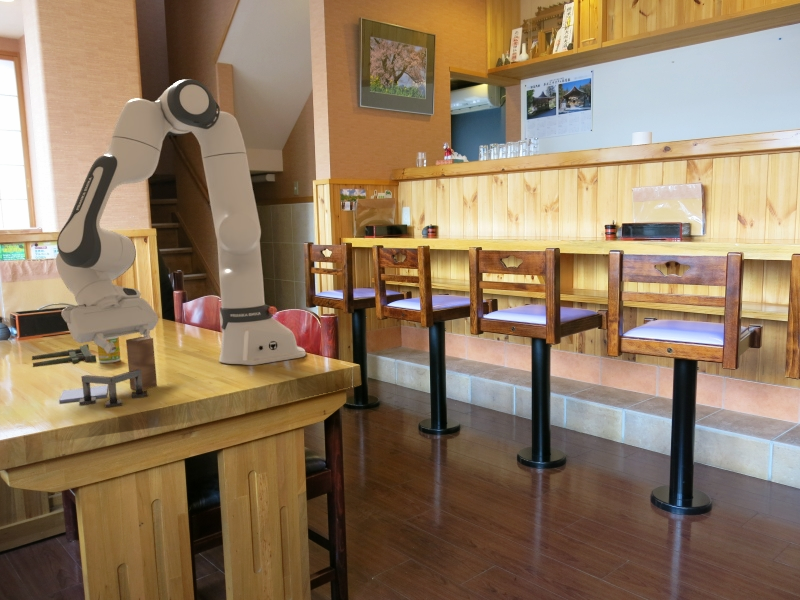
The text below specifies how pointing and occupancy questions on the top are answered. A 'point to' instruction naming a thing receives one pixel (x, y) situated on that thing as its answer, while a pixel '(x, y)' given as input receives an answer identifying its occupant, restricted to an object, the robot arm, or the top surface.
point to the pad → (78, 394)
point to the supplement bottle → (109, 357)
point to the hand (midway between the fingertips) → (131, 347)
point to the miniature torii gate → (74, 357)
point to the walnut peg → (142, 360)
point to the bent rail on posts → (112, 387)
